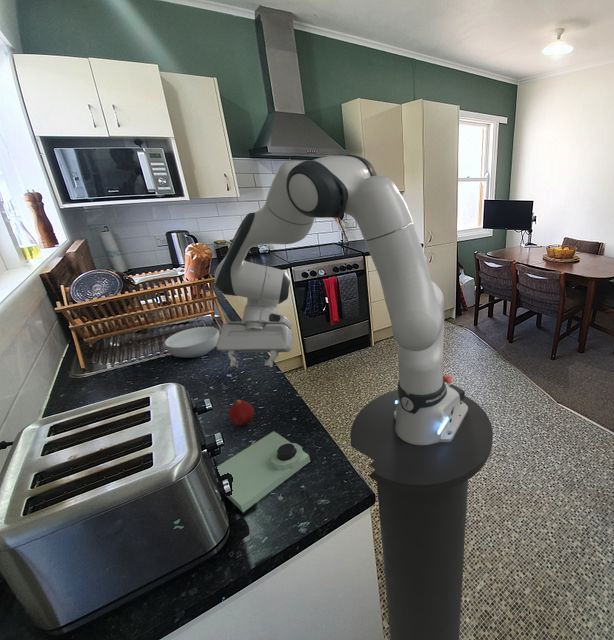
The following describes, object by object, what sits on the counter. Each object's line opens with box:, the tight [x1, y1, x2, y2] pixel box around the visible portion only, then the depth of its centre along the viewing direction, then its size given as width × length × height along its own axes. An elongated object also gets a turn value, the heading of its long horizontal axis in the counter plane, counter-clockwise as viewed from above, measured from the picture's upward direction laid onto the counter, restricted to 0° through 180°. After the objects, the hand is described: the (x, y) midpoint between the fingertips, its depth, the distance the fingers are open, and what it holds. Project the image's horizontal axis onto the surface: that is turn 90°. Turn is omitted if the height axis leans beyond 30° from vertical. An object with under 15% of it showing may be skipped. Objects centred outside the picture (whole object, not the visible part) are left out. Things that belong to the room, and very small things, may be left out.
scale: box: [216, 430, 311, 513], centre depth 77 cm, size 16×14×4 cm
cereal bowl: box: [164, 326, 220, 359], centre depth 127 cm, size 17×17×7 cm
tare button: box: [277, 442, 295, 461], centre depth 77 cm, size 4×4×2 cm
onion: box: [228, 399, 255, 426], centre depth 90 cm, size 6×6×8 cm
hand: (251, 367), depth 96 cm, fingers open, 8 cm apart
